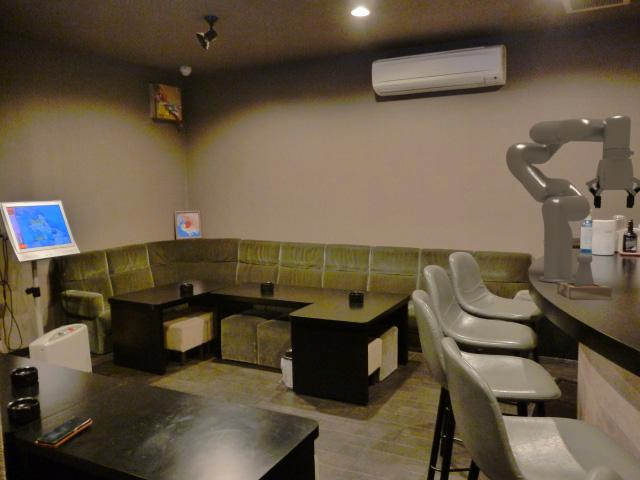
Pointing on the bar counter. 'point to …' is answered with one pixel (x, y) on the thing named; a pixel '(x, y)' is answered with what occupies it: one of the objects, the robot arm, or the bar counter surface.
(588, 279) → the salt shaker
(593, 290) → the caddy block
